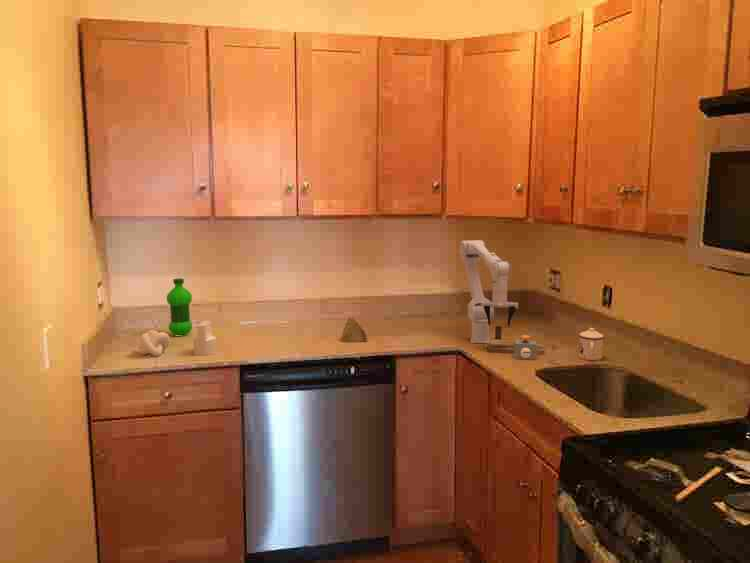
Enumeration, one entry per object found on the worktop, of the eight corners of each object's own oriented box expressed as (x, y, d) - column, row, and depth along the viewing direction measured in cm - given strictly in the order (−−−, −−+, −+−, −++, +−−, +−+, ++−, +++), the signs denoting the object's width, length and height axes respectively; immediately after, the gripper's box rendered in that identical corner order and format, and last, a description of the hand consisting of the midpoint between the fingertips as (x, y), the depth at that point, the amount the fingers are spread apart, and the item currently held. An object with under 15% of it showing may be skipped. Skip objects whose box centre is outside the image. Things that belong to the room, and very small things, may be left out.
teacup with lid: (577, 353, 250) (579, 324, 248) (602, 355, 247) (603, 326, 245) (578, 361, 238) (579, 331, 237) (603, 363, 236) (605, 333, 234)
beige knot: (129, 355, 245) (128, 333, 244) (153, 348, 255) (152, 327, 254) (150, 359, 240) (149, 336, 238) (174, 352, 250) (173, 330, 249)
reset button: (520, 340, 245) (520, 334, 245) (529, 341, 245) (529, 335, 244) (520, 343, 242) (521, 336, 241) (530, 343, 241) (530, 337, 241)
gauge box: (513, 354, 248) (514, 339, 247) (534, 355, 247) (535, 340, 246) (514, 359, 241) (515, 344, 240) (536, 360, 240) (536, 344, 239)
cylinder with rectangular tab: (213, 355, 245) (212, 325, 243) (190, 355, 245) (189, 325, 243) (219, 349, 254) (218, 320, 252) (197, 349, 254) (196, 320, 252)
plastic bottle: (168, 333, 281) (165, 278, 277) (193, 331, 285) (190, 277, 281) (168, 338, 272) (165, 281, 268) (193, 336, 275) (191, 280, 271)
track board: (487, 346, 260) (487, 342, 260) (542, 348, 257) (542, 345, 256) (487, 352, 251) (488, 348, 251) (544, 354, 248) (544, 350, 248)
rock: (373, 334, 271) (354, 328, 276) (368, 321, 265) (349, 315, 270) (360, 353, 265) (341, 346, 270) (355, 340, 259) (336, 334, 264)
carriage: (490, 343, 258) (490, 324, 257) (505, 343, 257) (505, 325, 256) (490, 346, 252) (491, 328, 251) (505, 347, 251) (506, 328, 250)
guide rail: (489, 345, 256) (489, 342, 256) (541, 347, 253) (542, 344, 253) (489, 346, 255) (489, 343, 254) (542, 348, 251) (542, 345, 251)
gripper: (481, 292, 248) (480, 326, 250) (519, 293, 246) (517, 327, 248) (481, 290, 255) (480, 322, 257) (517, 291, 253) (516, 323, 255)
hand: (498, 325), depth 253 cm, fingers open, 7 cm apart
